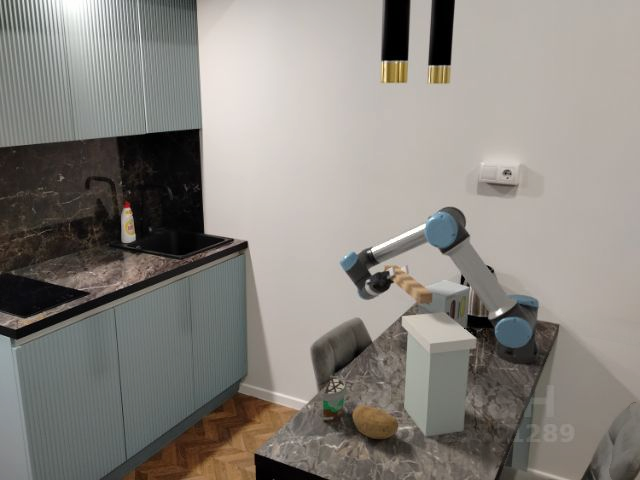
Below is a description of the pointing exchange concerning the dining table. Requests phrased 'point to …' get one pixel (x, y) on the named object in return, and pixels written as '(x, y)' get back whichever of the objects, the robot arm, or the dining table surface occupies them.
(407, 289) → the oak slat
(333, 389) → the food container
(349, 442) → the dining table surface
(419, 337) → the box
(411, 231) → the robot arm
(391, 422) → the potato
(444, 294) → the supplement box
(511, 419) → the dining table surface
